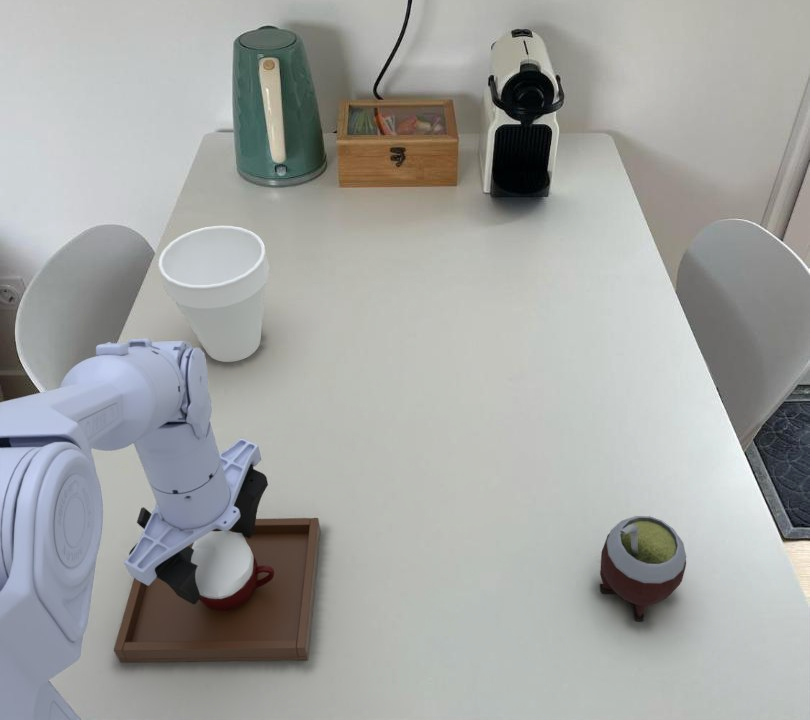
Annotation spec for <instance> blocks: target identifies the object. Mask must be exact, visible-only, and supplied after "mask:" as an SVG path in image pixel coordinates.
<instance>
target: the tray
mask: <svg viewBox="0 0 810 720" xmlns="http://www.w3.org/2000/svg"><path fill="white" fill-rule="evenodd" d="M319 519H320V518H319V517H293V518H292V517H290V518H285V517H284V518H283V517H282V518H256V521H255V529H254V534H253V535H252V536H251V538H250V539H249V538H247V537H245V536H244V538H245V540H246V542H247V544H248V545H249V547H250V548H251V549H252V552H253V554H254V557H255V559H256V562H257V565H258V567H259V566H269V567H271V568H273V570H274V576H273V578H272V580H271V581H269V582H268V583H266V584H265V585H262V586H260V587H258V588H256V589H255V591H254V592H253V594H252V595H251V597H250V598H249V600H248V601H246V602H245V603H243V604H242V605H240V606H239V607H238V608H235V609H231V610H227V611H219V610H214V609H210V608H209V607H207V606H206V605H205V604H204V603H202V602H201V601H200V600H198V601H197V603H196V604H192V603H190V602H188V601H186V600H184V599H183V598H181V597H179V596H178V595H177V594H176V593H175V592H174V590H173V589H172V588H171V587H170V586H169V585H168V584H167V583H166V582H164V581H162V580H160V579H158V578H157V577H156V578H155V580H154V581H153V582H152V583H151V584H150V585H149V586H148V585H146V584H144V583H142V582H140V581H138V580H137V579H135V578H133V581H132V583H131V588H130V591H129V596H128V598H127V602H126V605H125V609H124V613H123V615H122V619H121V623H120V627H119V630H118V634H117V637H116V640H115V644H114V647H113V652H114V655H115V656H116V658H117V660H118V662H119V663H153V662H154V663H159V662H162V663H163V662H164V663H165V662H166V663H167V662H172V663H173V662H232V661H233V662H242V661H243V662H244V661H245V662H246V661H248V662H249V661H250V662H251V661H253V662H254V661H308V660H309V653H310V643H311V632H312V622H313V612H314V601H315V592H316V584H317V583H316V582H317V572H318V562H319V561H318V560H319V553H320V552H319V551H320V541H321V532H322V531H321V526H320V520H319ZM212 531H222V530H220V529H214V530H212ZM229 531H232V532H235V531H233V530H232V529H229ZM236 533H237V532H236ZM193 544H194V542H193V543H192V544H190V545H189V546H190V547H191V548H192V546H193ZM268 575H269V573H266V572H262V573H259V574H258V578H257V580H260V579H263V578H264V577H266V576H268Z"/></svg>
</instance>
